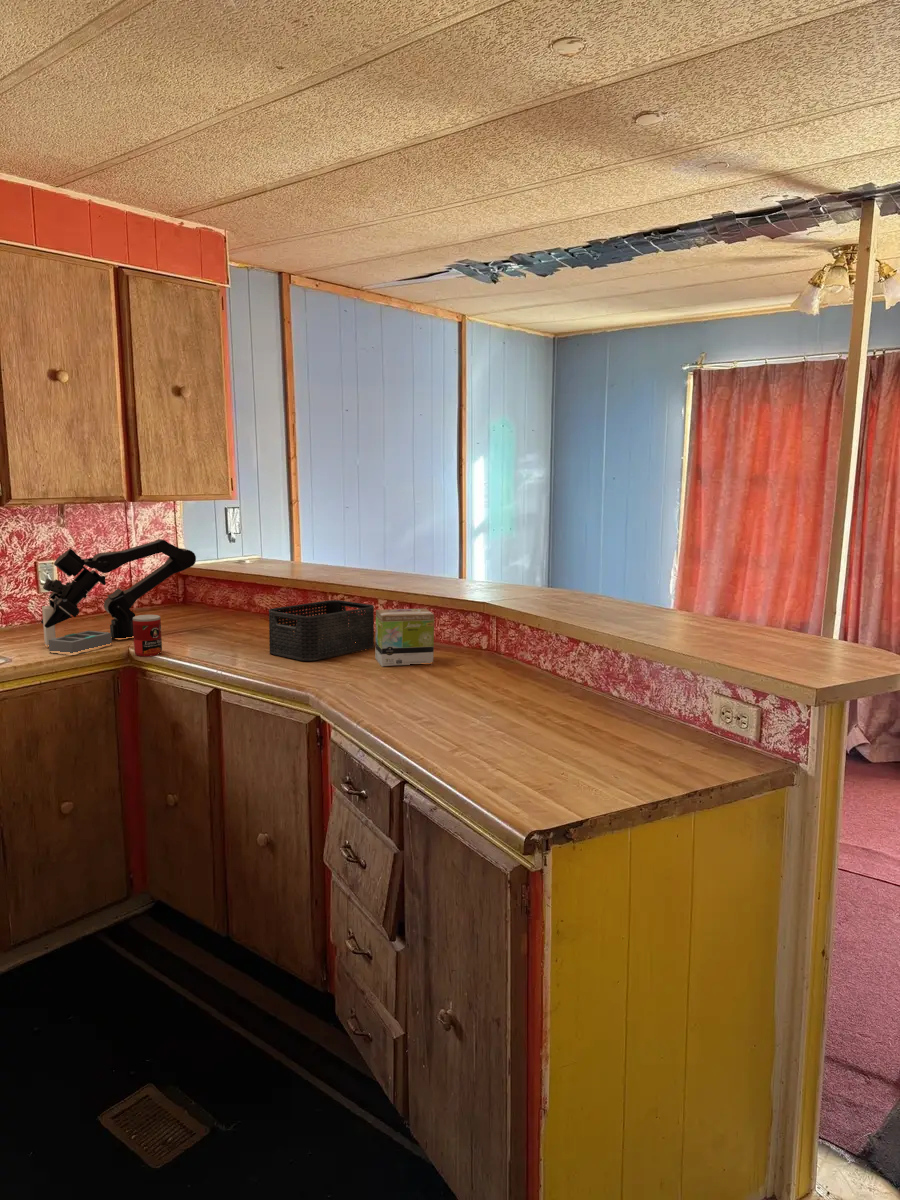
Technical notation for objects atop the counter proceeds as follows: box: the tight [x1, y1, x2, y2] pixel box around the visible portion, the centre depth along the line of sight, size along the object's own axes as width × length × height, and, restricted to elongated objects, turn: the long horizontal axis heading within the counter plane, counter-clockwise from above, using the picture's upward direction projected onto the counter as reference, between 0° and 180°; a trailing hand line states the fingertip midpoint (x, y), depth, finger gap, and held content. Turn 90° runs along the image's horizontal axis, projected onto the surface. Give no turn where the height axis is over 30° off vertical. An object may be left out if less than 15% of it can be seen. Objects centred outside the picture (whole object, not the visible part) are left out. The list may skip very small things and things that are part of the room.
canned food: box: [133, 614, 163, 657], centre depth 243 cm, size 8×8×11 cm
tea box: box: [374, 608, 435, 667], centre depth 235 cm, size 15×10×15 cm, turn 105°
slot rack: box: [48, 630, 113, 653], centre depth 249 cm, size 15×9×4 cm, turn 159°
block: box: [41, 605, 57, 646], centre depth 252 cm, size 2×5×12 cm, turn 34°
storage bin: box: [268, 599, 375, 662], centre depth 249 cm, size 29×19×13 cm
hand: (43, 625), depth 252 cm, fingers open, 7 cm apart
